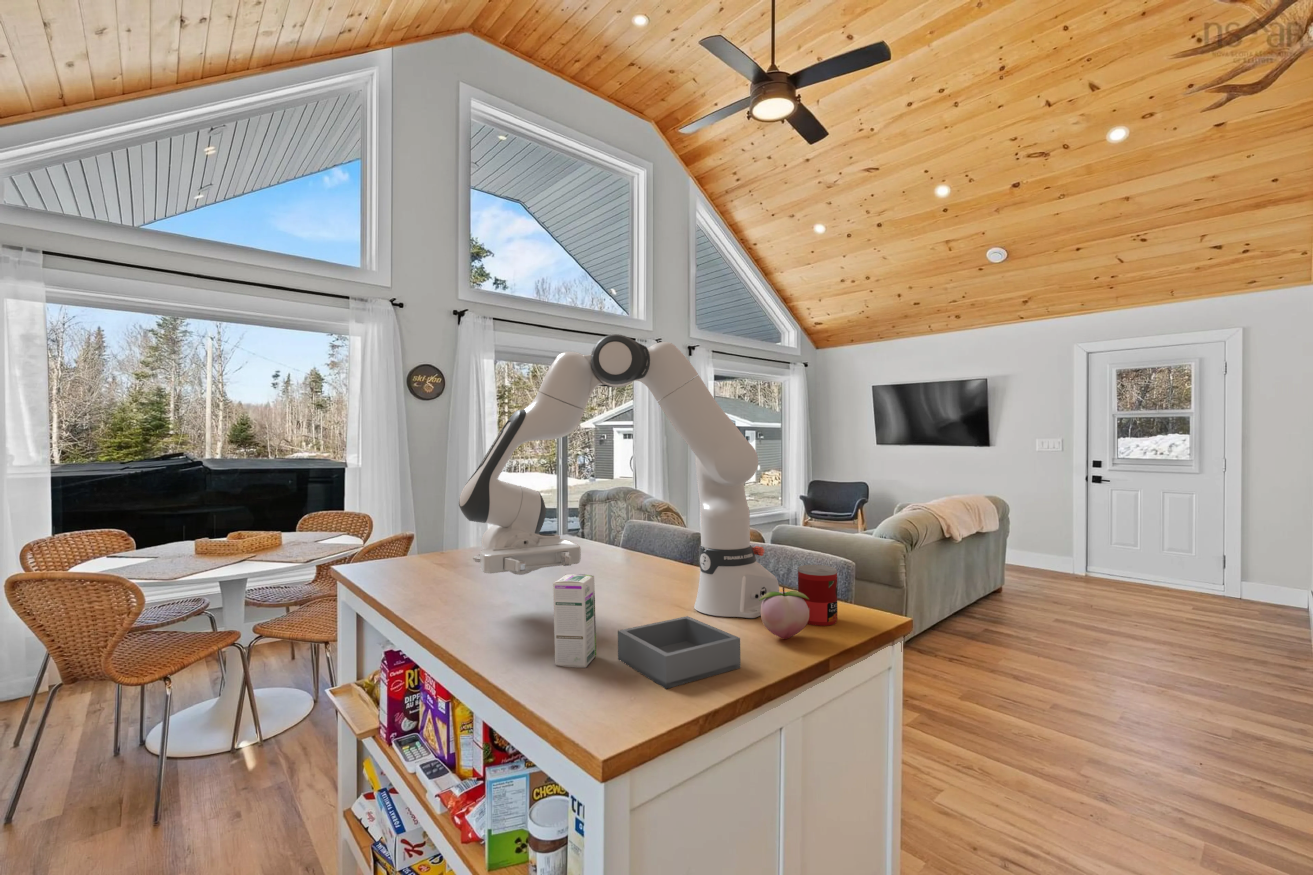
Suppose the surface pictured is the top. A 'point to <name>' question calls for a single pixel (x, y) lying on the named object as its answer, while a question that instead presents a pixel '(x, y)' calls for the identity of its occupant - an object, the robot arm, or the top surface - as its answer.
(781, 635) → the decorative fruit
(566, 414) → the robot arm
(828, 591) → the canned food
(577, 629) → the syrup box
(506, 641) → the top surface
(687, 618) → the bin
